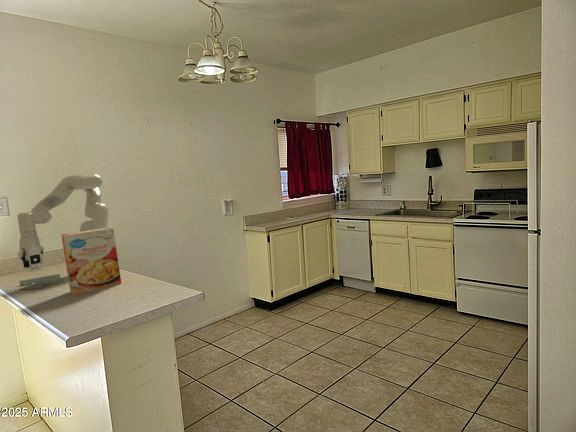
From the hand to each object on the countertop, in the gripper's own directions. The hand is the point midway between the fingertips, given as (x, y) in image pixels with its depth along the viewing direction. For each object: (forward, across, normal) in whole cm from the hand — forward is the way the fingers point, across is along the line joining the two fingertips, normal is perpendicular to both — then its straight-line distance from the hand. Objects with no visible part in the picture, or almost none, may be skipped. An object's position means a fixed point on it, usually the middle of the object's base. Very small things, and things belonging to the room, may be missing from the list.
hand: (33, 265), depth 215 cm
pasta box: (+12, +8, +42) cm, 45 cm away
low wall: (+12, -9, -5) cm, 16 cm away
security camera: (+3, 0, 0) cm, 3 cm away
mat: (+12, 0, 0) cm, 12 cm away
